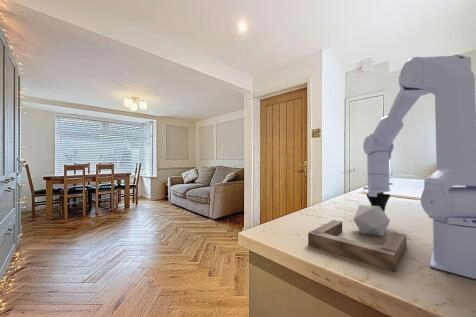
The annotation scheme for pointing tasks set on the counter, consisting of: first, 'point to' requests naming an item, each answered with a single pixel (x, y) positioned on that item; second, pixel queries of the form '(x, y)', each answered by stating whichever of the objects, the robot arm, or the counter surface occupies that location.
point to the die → (371, 220)
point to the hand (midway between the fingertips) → (378, 216)
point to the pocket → (359, 246)
